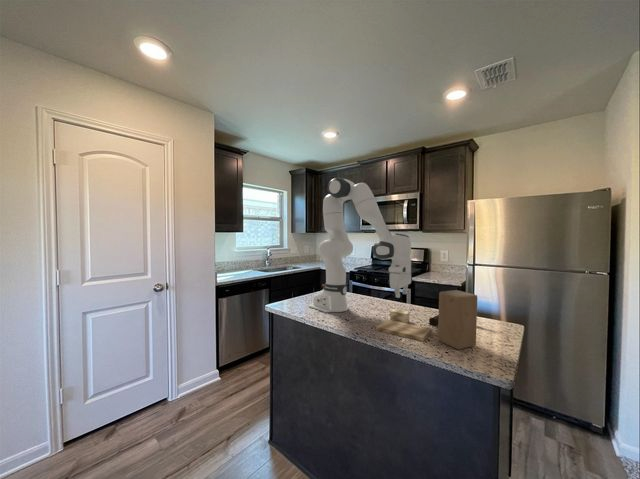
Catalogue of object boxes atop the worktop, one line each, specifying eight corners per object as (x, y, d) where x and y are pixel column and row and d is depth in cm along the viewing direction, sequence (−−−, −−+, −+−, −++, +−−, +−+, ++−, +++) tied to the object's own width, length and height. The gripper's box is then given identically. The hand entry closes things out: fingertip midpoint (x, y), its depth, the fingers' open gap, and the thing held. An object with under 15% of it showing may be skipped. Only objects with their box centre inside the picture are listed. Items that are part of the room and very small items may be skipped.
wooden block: (458, 350, 100) (459, 296, 100) (436, 340, 109) (438, 291, 109) (477, 346, 104) (478, 294, 104) (454, 337, 113) (456, 289, 113)
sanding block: (390, 321, 133) (390, 310, 133) (393, 318, 137) (393, 308, 137) (406, 324, 129) (406, 314, 128) (409, 322, 132) (409, 311, 132)
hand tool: (437, 327, 125) (437, 317, 125) (428, 325, 128) (428, 315, 128) (453, 319, 138) (454, 310, 138) (445, 317, 141) (446, 308, 141)
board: (376, 330, 120) (376, 326, 120) (387, 322, 131) (387, 319, 131) (423, 341, 108) (423, 337, 108) (431, 332, 119) (431, 328, 119)
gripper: (402, 264, 142) (402, 291, 142) (387, 268, 125) (387, 298, 126) (414, 265, 138) (414, 292, 139) (400, 269, 122) (400, 300, 122)
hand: (401, 295), depth 132 cm, fingers open, 8 cm apart
